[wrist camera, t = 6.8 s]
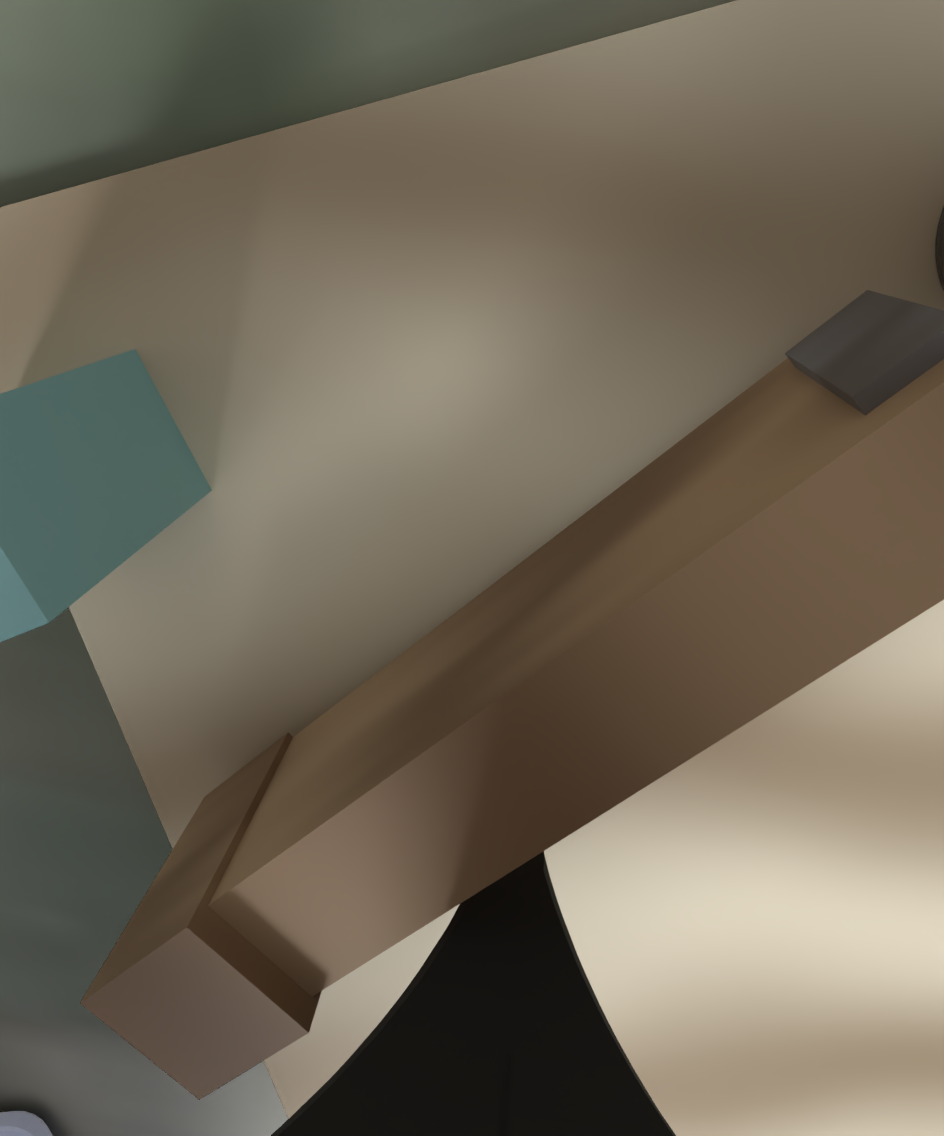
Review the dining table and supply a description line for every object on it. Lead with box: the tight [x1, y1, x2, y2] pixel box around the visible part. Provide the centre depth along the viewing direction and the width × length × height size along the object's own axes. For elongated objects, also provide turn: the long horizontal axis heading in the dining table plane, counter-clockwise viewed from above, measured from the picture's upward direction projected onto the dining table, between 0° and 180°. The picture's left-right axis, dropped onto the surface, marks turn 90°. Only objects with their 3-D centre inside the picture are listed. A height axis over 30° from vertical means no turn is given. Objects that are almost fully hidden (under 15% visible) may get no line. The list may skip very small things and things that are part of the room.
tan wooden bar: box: [80, 290, 944, 1100], centre depth 10 cm, size 11×2×4 cm, turn 131°
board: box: [0, 0, 944, 1136], centre depth 13 cm, size 18×16×1 cm
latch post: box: [0, 349, 212, 642], centre depth 10 cm, size 2×2×4 cm
